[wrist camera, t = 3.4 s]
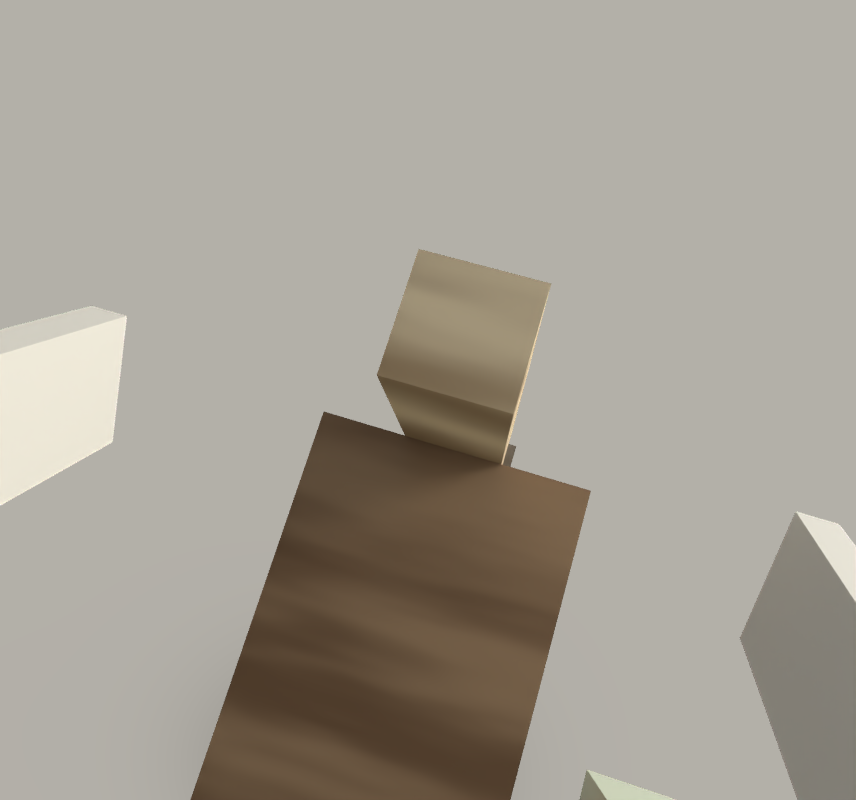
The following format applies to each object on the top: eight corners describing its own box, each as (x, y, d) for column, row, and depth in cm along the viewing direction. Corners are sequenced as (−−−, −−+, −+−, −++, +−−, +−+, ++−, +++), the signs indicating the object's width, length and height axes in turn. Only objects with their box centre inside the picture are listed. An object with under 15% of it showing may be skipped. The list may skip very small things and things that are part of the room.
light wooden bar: (529, 418, 19) (566, 287, 20) (362, 371, 19) (404, 245, 20) (500, 502, 39) (518, 436, 40) (418, 477, 40) (438, 413, 40)
